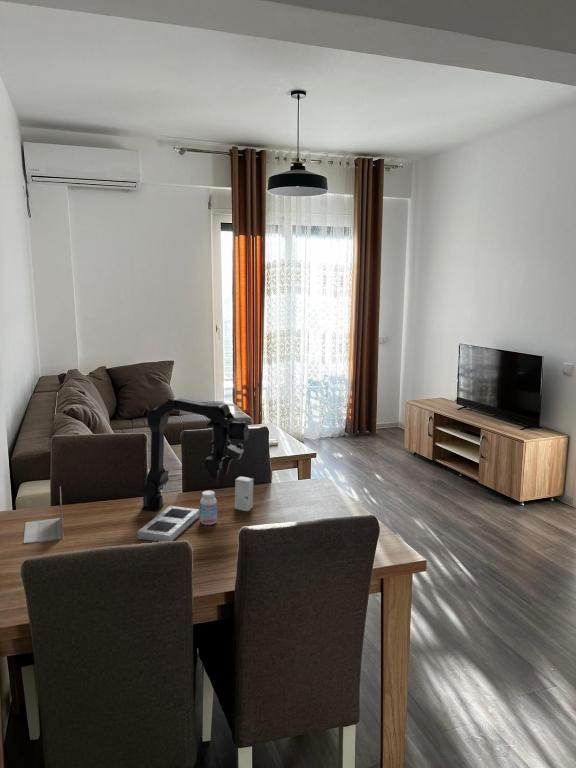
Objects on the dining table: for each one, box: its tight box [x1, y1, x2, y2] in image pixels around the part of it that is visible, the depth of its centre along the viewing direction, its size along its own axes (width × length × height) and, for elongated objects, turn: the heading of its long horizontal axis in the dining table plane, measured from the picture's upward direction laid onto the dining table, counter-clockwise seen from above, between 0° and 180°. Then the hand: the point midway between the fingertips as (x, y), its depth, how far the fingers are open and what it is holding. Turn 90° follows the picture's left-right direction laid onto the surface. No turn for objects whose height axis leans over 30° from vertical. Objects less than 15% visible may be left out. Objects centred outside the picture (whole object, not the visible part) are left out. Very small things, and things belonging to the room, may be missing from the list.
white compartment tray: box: [137, 505, 200, 543], centre depth 207 cm, size 12×24×3 cm, turn 165°
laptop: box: [22, 486, 64, 544], centre depth 202 cm, size 18×12×13 cm
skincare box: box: [234, 476, 254, 512], centre depth 225 cm, size 6×4×12 cm
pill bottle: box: [199, 490, 218, 526], centre depth 212 cm, size 6×6×11 cm
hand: (220, 479), depth 216 cm, fingers open, 9 cm apart
